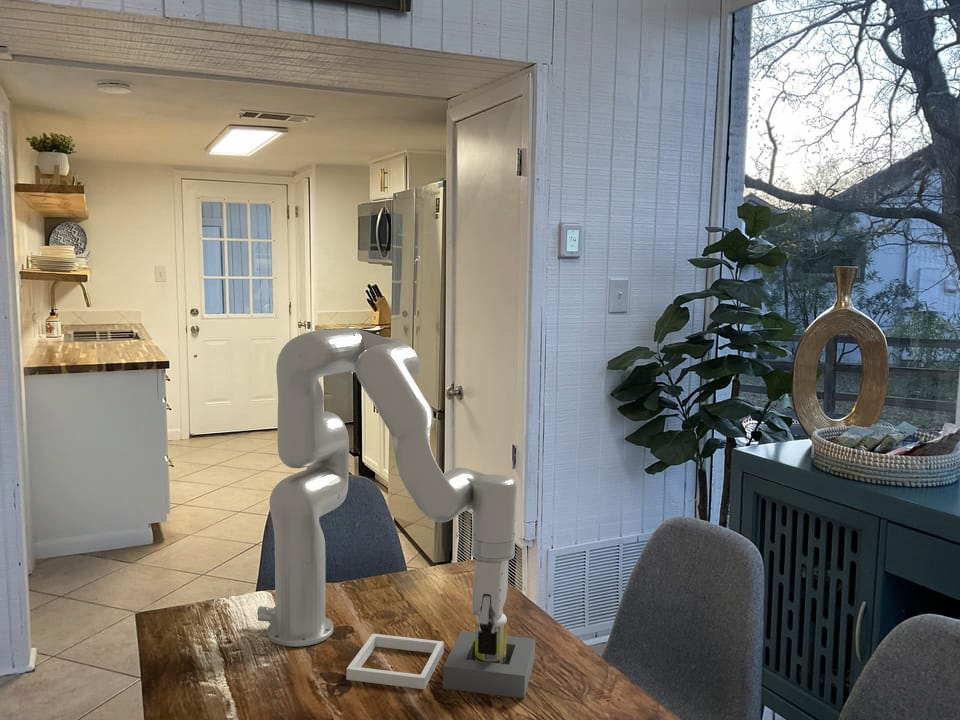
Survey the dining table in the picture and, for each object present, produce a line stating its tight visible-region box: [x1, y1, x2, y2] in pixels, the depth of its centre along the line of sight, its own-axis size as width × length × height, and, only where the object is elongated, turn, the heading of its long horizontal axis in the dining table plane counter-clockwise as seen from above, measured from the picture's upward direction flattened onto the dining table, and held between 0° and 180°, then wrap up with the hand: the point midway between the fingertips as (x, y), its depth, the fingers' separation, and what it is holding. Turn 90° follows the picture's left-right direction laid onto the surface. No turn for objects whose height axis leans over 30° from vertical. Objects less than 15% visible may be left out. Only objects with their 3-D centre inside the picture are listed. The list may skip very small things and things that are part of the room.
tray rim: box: [346, 633, 445, 690], centre depth 146 cm, size 14×14×2 cm
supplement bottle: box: [474, 607, 508, 664], centre depth 143 cm, size 6×6×10 cm
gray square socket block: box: [442, 630, 536, 699], centre depth 143 cm, size 14×14×4 cm
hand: (490, 644), depth 143 cm, fingers closed on supplement bottle, 5 cm apart
